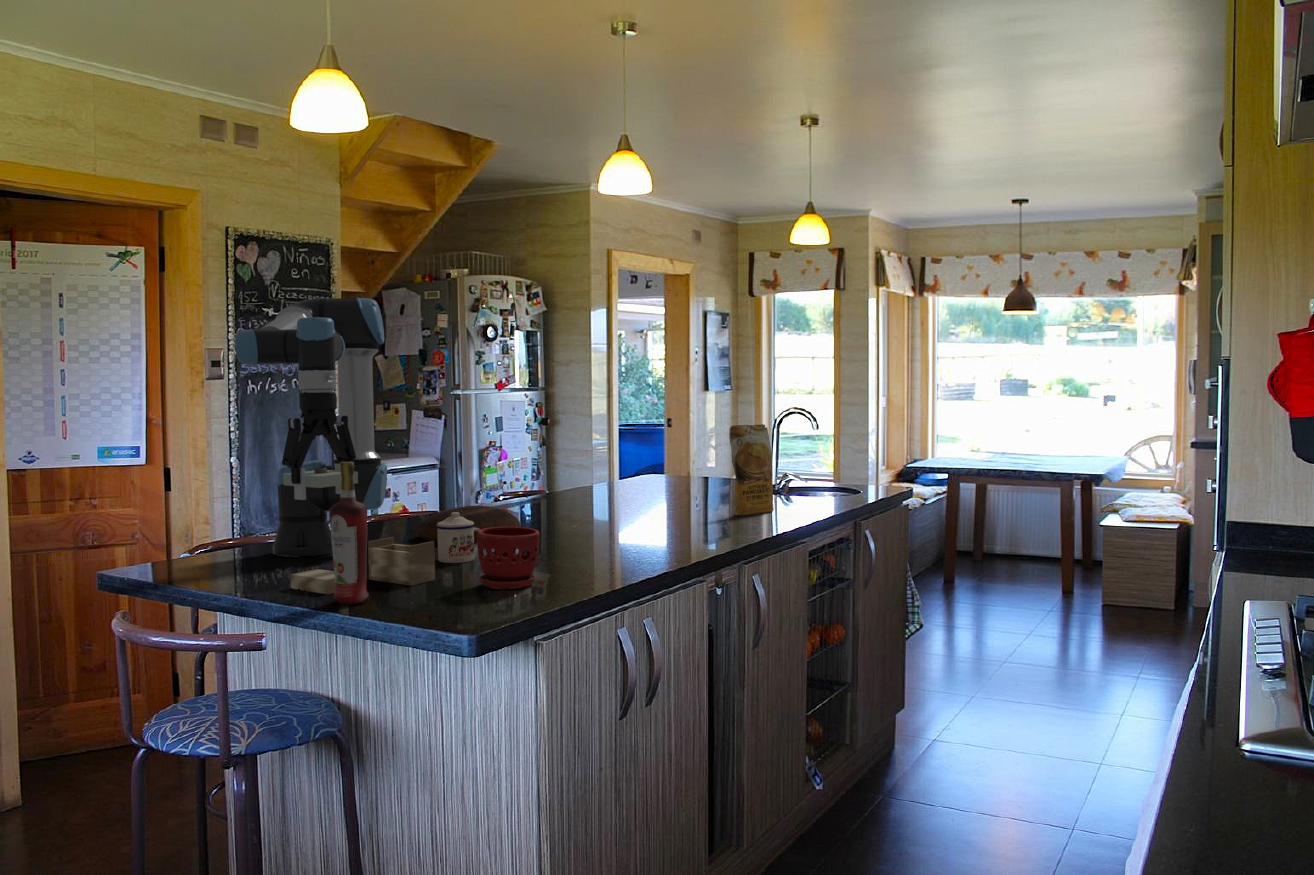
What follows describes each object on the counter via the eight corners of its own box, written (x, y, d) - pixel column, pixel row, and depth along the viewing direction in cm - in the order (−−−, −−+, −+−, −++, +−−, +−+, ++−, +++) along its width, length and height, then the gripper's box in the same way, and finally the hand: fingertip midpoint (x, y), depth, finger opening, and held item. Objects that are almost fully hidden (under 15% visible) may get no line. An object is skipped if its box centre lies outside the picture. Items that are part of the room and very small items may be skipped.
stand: (290, 588, 223) (290, 574, 222) (317, 582, 229) (317, 569, 228) (328, 594, 216) (327, 580, 216) (355, 588, 222) (354, 574, 222)
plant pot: (487, 594, 214) (485, 536, 213) (472, 583, 226) (470, 528, 225) (548, 588, 219) (547, 531, 219) (530, 577, 231) (529, 523, 231)
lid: (283, 485, 220) (283, 469, 220) (322, 480, 228) (321, 465, 228) (319, 487, 214) (319, 471, 214) (358, 483, 222) (357, 467, 222)
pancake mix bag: (722, 514, 327) (722, 425, 325) (766, 509, 339) (766, 423, 337) (737, 517, 322) (736, 426, 320) (781, 511, 334) (781, 423, 332)
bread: (542, 534, 294) (541, 503, 293) (478, 549, 271) (477, 516, 270) (464, 528, 308) (464, 498, 308) (397, 541, 285) (396, 509, 285)
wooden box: (369, 579, 231) (368, 541, 231) (393, 574, 237) (392, 536, 237) (411, 585, 224) (410, 546, 223) (435, 579, 230) (434, 541, 229)
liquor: (324, 604, 206) (319, 463, 204) (347, 597, 213) (343, 460, 211) (355, 607, 204) (350, 464, 202) (377, 599, 210) (373, 461, 209)
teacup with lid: (449, 565, 247) (448, 516, 247) (430, 560, 254) (428, 512, 253) (492, 558, 255) (491, 511, 255) (473, 554, 262) (471, 507, 261)
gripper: (284, 392, 208) (288, 503, 210) (371, 390, 227) (374, 491, 229) (260, 392, 212) (264, 501, 214) (347, 390, 231) (351, 490, 233)
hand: (321, 496), depth 221 cm, fingers closed on lid, 10 cm apart
